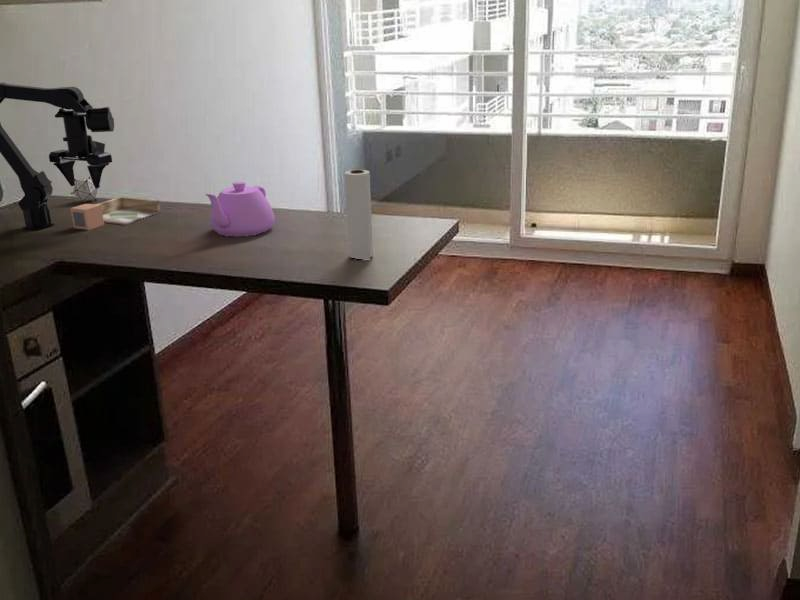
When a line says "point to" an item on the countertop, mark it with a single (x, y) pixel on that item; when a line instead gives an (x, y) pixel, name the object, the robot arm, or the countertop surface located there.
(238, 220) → the teapot
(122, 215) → the tray
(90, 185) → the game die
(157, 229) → the countertop surface
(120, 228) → the countertop surface
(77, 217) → the cube
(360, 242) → the paper towel roll
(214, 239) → the countertop surface
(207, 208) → the countertop surface
